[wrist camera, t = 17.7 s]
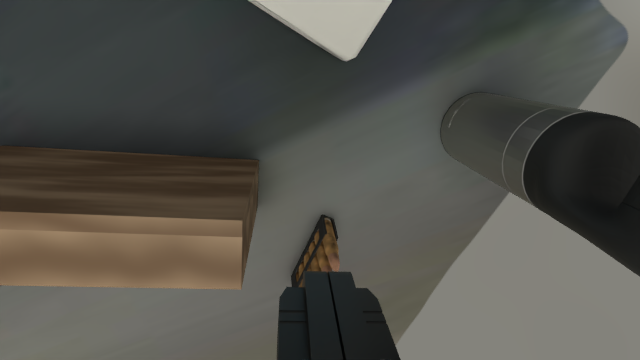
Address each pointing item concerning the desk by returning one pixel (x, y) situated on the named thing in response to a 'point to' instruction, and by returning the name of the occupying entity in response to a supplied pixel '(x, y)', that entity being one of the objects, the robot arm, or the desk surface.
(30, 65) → the desk surface
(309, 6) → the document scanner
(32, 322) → the desk surface
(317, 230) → the ammunition clip
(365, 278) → the desk surface
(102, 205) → the keypad console
